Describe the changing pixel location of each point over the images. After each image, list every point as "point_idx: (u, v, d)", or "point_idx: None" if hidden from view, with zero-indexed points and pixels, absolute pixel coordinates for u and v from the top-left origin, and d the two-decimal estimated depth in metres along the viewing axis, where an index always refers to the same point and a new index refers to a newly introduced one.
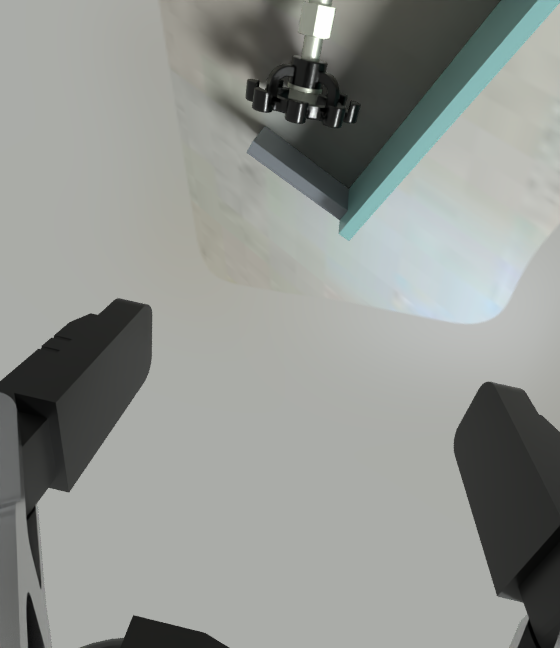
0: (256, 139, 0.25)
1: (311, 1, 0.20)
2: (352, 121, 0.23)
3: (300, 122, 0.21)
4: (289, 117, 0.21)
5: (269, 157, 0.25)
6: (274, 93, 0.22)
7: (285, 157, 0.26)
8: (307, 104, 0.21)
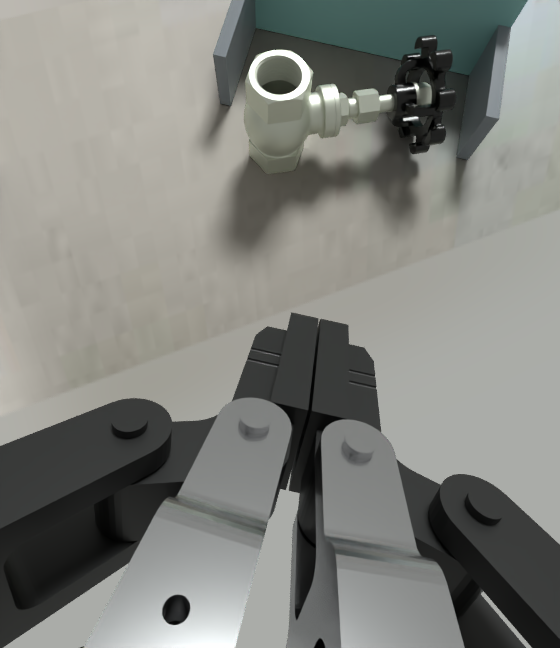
0: (481, 122, 0.26)
1: (357, 108, 0.25)
2: (417, 52, 0.26)
3: (448, 49, 0.23)
4: (450, 57, 0.23)
5: (491, 99, 0.25)
6: (431, 104, 0.25)
7: (480, 102, 0.27)
8: (432, 51, 0.23)
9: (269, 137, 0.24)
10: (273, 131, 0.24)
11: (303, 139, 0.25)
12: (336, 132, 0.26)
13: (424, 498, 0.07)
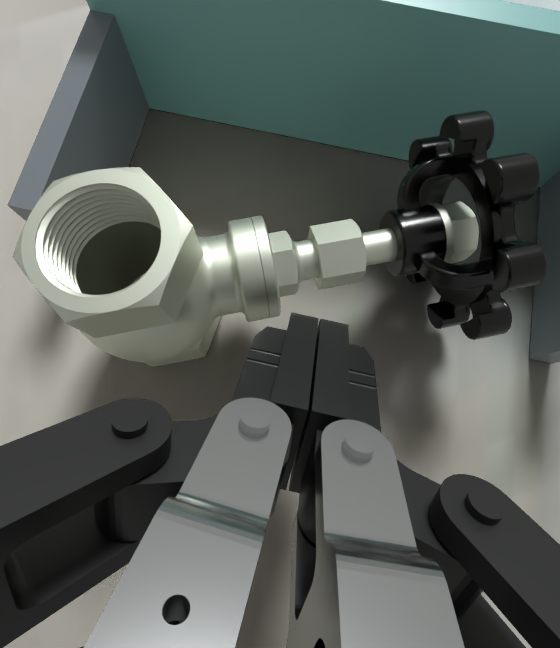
0: None
1: (317, 266, 0.12)
2: None
3: (528, 154, 0.10)
4: (534, 175, 0.09)
5: None
6: (482, 264, 0.11)
7: None
8: (487, 159, 0.10)
9: (114, 350, 0.11)
10: (118, 343, 0.10)
11: (201, 335, 0.12)
12: (273, 316, 0.12)
13: (424, 498, 0.07)
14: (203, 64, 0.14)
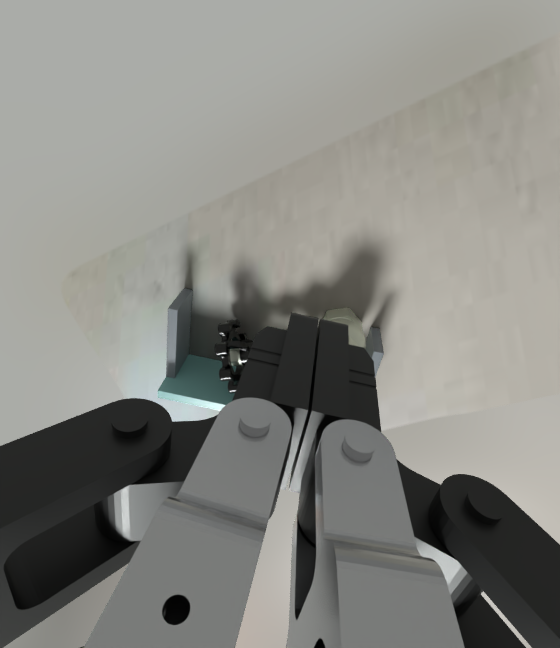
0: (180, 307, 0.34)
1: None
2: None
3: None
4: (221, 375, 0.33)
5: (174, 323, 0.34)
6: (229, 348, 0.35)
7: (181, 325, 0.36)
8: (232, 380, 0.34)
9: (348, 328, 0.33)
10: None
11: None
12: None
13: (424, 498, 0.07)
14: None
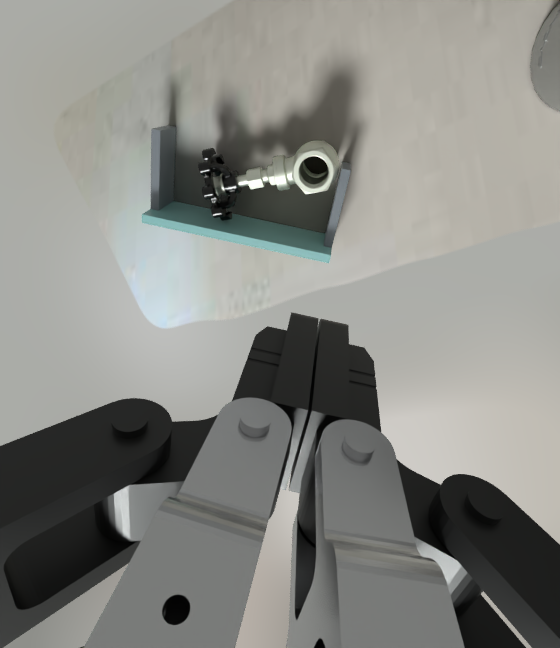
0: (162, 131, 0.37)
1: (261, 172, 0.37)
2: (221, 219, 0.40)
3: (204, 197, 0.36)
4: (204, 190, 0.36)
5: (157, 145, 0.37)
6: (212, 171, 0.37)
7: (164, 154, 0.38)
8: (215, 197, 0.36)
9: (321, 143, 0.35)
10: (318, 145, 0.35)
11: (298, 149, 0.36)
12: (275, 156, 0.37)
13: (424, 498, 0.07)
14: (296, 236, 0.41)
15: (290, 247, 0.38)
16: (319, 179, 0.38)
